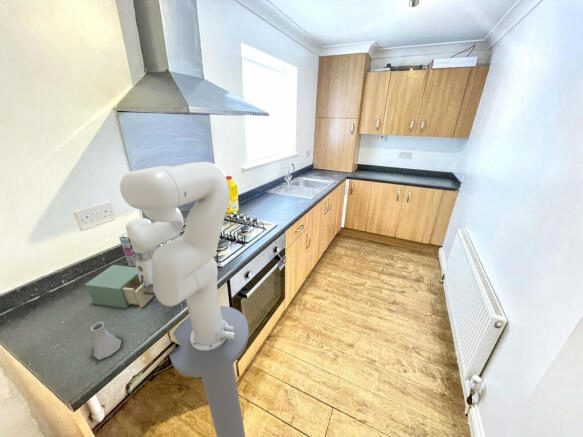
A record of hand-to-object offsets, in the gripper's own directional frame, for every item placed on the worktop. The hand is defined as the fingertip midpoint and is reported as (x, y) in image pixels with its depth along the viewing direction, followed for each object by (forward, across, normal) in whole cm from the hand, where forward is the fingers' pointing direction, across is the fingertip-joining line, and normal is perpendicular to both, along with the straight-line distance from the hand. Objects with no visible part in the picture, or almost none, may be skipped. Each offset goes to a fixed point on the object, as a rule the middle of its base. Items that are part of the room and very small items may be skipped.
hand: (159, 291), depth 91 cm
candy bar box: (+4, +23, +29) cm, 37 cm away
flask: (+5, -22, +3) cm, 23 cm away
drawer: (+3, 0, +7) cm, 8 cm away
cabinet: (+4, 0, +18) cm, 18 cm away
